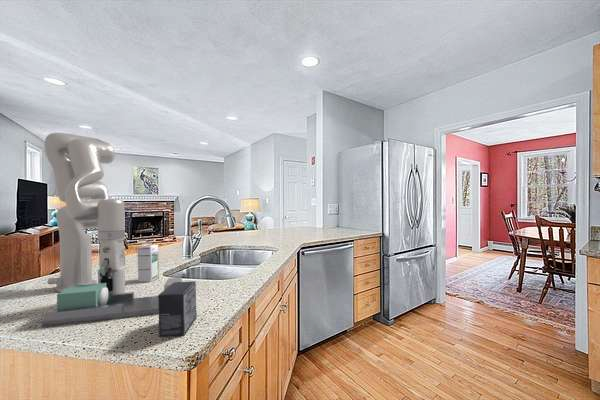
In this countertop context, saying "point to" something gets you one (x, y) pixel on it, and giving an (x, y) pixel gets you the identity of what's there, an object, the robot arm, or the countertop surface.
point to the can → (116, 280)
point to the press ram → (82, 296)
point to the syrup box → (148, 263)
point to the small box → (177, 309)
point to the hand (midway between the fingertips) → (112, 286)
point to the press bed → (128, 311)
